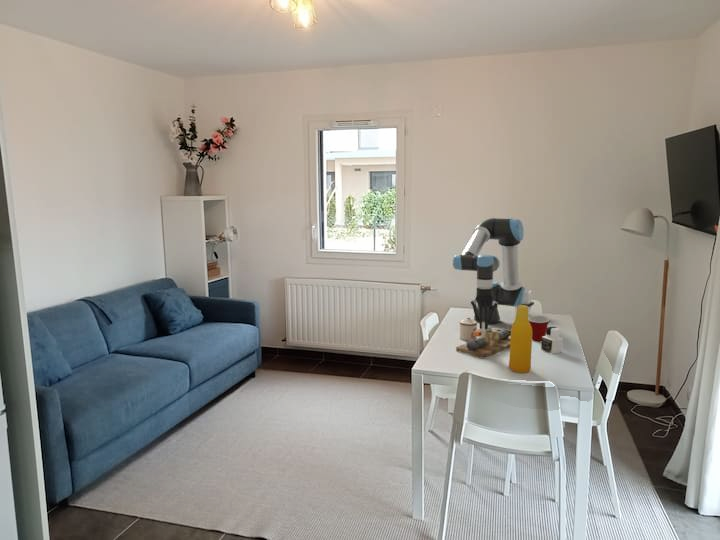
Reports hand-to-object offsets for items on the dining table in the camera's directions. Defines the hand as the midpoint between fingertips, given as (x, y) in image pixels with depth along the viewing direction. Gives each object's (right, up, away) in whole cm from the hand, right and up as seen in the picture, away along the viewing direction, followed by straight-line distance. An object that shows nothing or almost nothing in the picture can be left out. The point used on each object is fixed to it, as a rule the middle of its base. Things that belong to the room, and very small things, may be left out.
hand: (483, 335), depth 266 cm
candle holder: (+41, +3, +73) cm, 83 cm away
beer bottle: (+11, -13, -22) cm, 28 cm away
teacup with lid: (-2, -5, +27) cm, 27 cm away
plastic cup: (+33, -5, +22) cm, 40 cm away
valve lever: (+1, +1, +5) cm, 5 cm away
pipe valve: (+5, -7, +10) cm, 13 cm away
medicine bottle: (+34, -8, +4) cm, 36 cm away
